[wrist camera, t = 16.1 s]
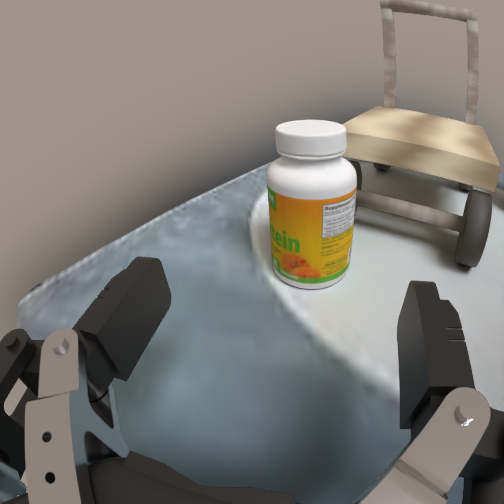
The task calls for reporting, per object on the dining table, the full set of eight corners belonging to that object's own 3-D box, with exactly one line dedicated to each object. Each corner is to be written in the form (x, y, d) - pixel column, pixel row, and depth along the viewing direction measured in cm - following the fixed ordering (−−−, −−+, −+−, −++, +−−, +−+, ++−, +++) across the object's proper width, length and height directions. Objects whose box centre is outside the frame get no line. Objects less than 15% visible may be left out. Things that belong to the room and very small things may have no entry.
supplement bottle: (258, 261, 23) (244, 126, 17) (316, 236, 25) (316, 114, 19) (302, 303, 19) (302, 144, 13) (364, 270, 21) (378, 130, 15)
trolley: (471, 182, 32) (481, 17, 20) (474, 283, 18) (508, -36, 6) (380, 160, 39) (378, 2, 26) (316, 236, 25) (303, -50, 12)
